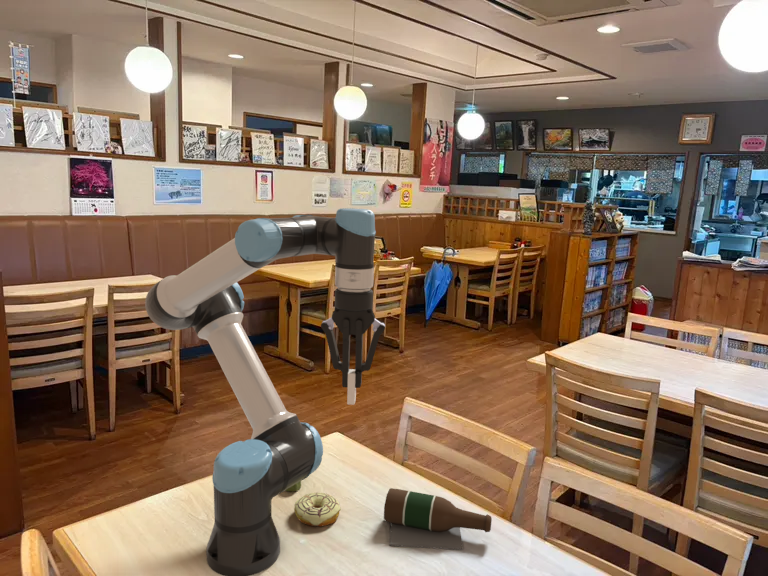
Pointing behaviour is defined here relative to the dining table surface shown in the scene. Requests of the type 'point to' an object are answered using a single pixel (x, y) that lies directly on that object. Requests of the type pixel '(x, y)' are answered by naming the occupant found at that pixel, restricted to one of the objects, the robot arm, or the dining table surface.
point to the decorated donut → (317, 509)
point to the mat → (425, 538)
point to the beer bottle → (430, 512)
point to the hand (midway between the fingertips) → (351, 401)
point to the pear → (295, 487)
